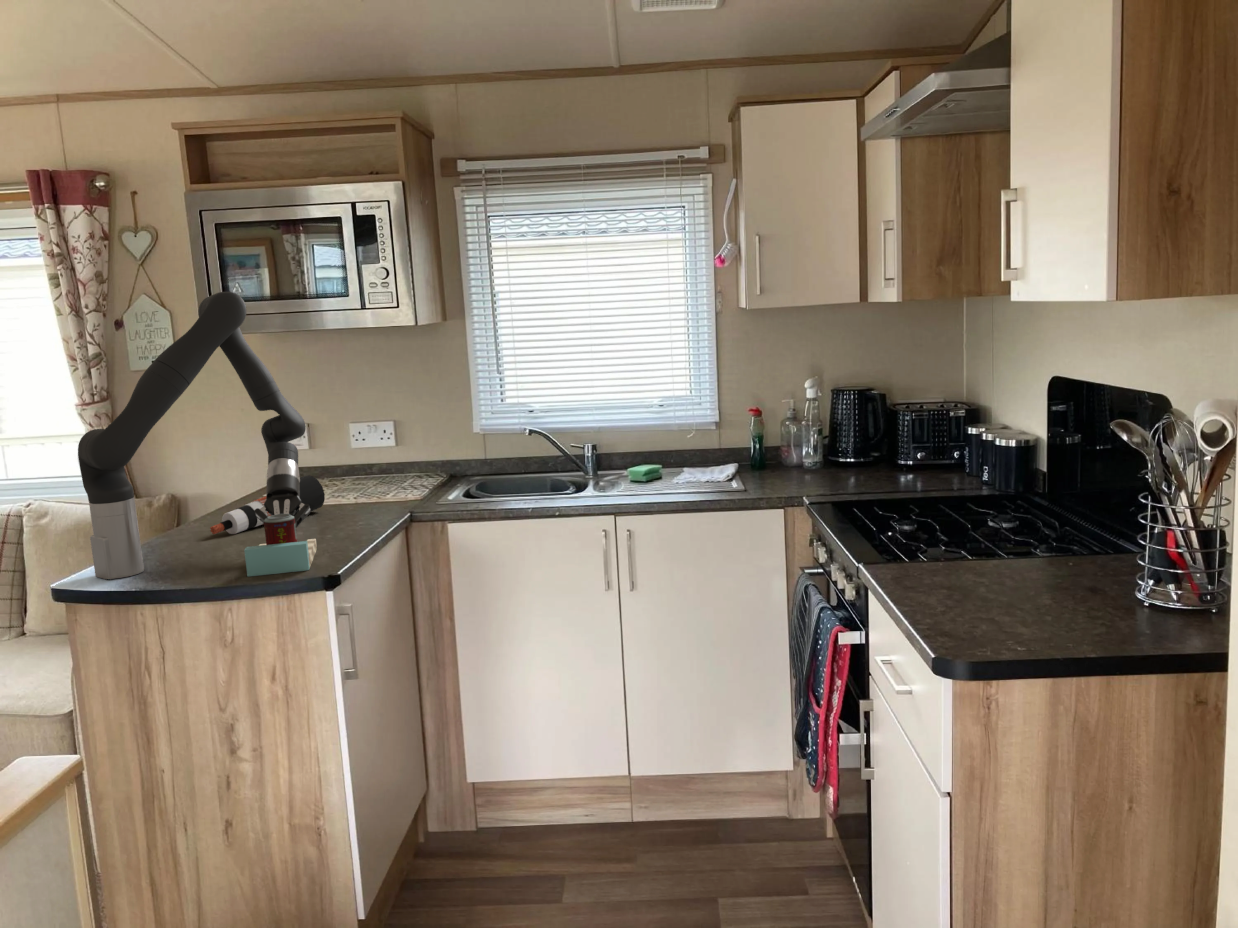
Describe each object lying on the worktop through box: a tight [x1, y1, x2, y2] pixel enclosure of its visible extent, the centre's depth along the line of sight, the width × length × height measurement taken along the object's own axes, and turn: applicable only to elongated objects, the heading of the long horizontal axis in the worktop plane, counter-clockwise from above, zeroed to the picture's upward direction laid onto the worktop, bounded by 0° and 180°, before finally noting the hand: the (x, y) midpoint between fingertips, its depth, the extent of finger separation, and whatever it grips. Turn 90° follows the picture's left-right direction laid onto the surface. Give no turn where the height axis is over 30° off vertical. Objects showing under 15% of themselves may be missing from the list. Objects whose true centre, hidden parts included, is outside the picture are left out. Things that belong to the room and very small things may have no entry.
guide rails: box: [258, 538, 318, 567], centre depth 229 cm, size 19×13×2 cm
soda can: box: [263, 514, 298, 545], centre depth 224 cm, size 7×7×12 cm
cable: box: [209, 474, 326, 535], centre depth 272 cm, size 10×34×10 cm, turn 149°
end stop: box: [244, 540, 311, 577], centre depth 219 cm, size 3×13×6 cm, turn 102°
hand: (282, 542), depth 229 cm, fingers closed
